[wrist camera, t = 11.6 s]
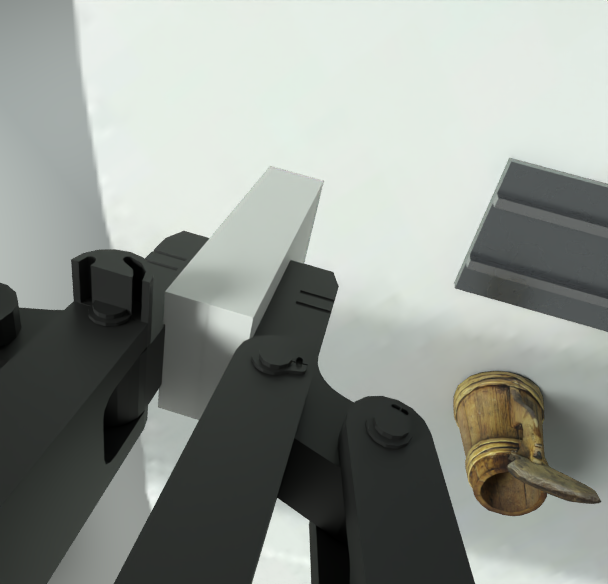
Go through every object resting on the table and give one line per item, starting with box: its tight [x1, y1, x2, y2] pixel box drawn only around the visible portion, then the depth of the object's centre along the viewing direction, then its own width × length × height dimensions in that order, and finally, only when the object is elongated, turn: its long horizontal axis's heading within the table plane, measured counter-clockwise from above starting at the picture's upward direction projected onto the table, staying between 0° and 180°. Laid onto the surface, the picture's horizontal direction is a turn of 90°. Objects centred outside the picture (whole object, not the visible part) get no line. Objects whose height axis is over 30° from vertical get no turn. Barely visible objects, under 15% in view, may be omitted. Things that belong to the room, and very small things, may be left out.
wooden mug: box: [453, 371, 601, 516], centre depth 44 cm, size 9×14×18 cm, turn 169°
